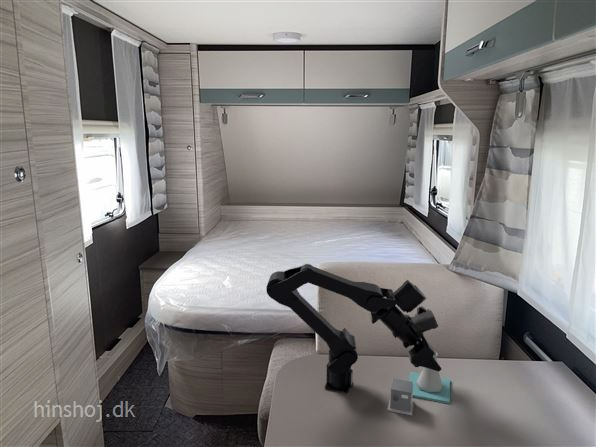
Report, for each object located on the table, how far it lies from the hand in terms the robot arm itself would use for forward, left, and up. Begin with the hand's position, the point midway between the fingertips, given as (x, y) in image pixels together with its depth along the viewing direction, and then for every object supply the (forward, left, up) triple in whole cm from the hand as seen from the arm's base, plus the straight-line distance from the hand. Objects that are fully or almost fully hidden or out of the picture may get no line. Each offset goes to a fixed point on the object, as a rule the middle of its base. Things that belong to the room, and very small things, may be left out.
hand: (436, 360), depth 121 cm
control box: (-8, -11, -8) cm, 16 cm away
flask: (-1, 0, -8) cm, 8 cm away
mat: (-1, 0, -8) cm, 8 cm away
